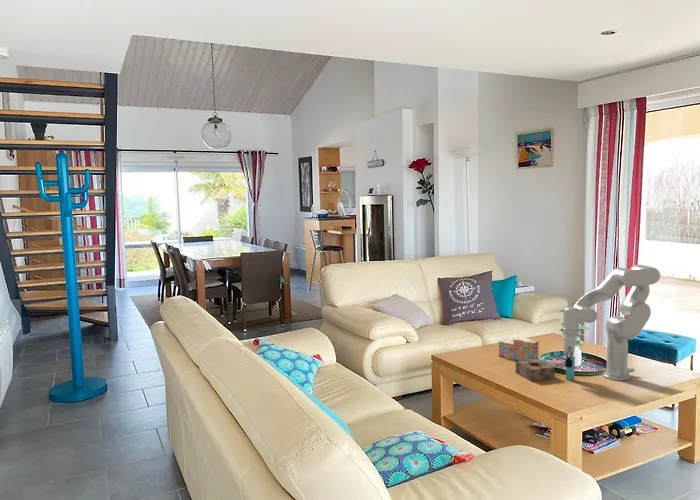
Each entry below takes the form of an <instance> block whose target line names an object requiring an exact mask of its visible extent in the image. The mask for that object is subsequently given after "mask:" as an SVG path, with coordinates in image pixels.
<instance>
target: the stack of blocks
mask: <svg viewBox="0 0 700 500" xmlns="http://www.w3.org/2000/svg"><path fill="white" fill-rule="evenodd" d="M498 357H501V358H503V359H504V358H505V359H509V360H514V361H517V362H518V361H527V360H535V359H539V340H536V339H533V338H525V337H522V336H521V337H520V336H516V338H513V340H509V339H502V340H499V341H498Z"/></svg>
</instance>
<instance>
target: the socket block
mask: <svg viewBox="0 0 700 500" xmlns="http://www.w3.org/2000/svg"><path fill="white" fill-rule="evenodd" d="M515 374H517V375H519V376H521V377H522V378H524V379H526V380H528V381H530V382H537V381H545V380H553V379H556V366H554V365H551V364H550V363H547V362H546V361H543V360H541V359H539V358H538V359H535V360H527V361H518V360H517V361H515Z"/></svg>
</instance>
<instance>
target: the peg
mask: <svg viewBox="0 0 700 500" xmlns="http://www.w3.org/2000/svg"><path fill="white" fill-rule="evenodd" d="M575 359H576V358H575V356H574V355H573V356H572V368H570V367H565V380H566V381H568V382H574V381H575V369H576V366H575V365H576V364H575V363H576V362H575Z"/></svg>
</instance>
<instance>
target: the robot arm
mask: <svg viewBox="0 0 700 500" xmlns="http://www.w3.org/2000/svg"><path fill="white" fill-rule="evenodd" d="M660 279H661V273H660V270H658V269H657V268H656V267H653V266H648V265H643V264H634V265H632V266H631V267H630V268H625V267H616V268H614V269H612V271H611V272H610V273H609V274H608V275H607V276H606V277H605V278H604V279H603V280H602V282H601V283H600V284H599V285H598V286H597V287H596V288H594V289H593V290H590V291H589V292H588V293H586V294H583V296H582V297H580V298H579V299H578V301H577V302H576V303H575V304H574V305H573V306H566V307H564V308H563V315H562V317H563V320H562V321H563V322H562V335H564V337H563V352H562V353H563V355H566V356H565V359H564V360H565V362H564V364H565V365H564V367H565V368H566V367H570V368H572V356H574V355H575V350H576V342H577V341H576V340H577V339H576V338H577V336H579V335H580V334H579V333H580V323H585V324H591V323H594V322H595V321H597V319H598V312H597V311H596V310H595V309H593V308H592V307H593V306H594V305H595V304H598V303H600V302H605V301H610V300H612V299H613V298H614V297H615V296H616V295H617V293H618V292H619V291H620V290H621V289H622V288H623V287H629V288H630V289H629V291H628V293H627V295H626V296H625V298H623V301H622V303H620V306H619V312H620V314H621V315H623V317H622V316H619V315H613V316H610V317H609V318H608V319H607V320H606V322H605V330H606V331H605V332H606V336H607V341H606V344H607V345H606V369H605V371H603V372H602V376H603V377H604V378H606V379H609V380H613V381H629V380H630V379H631V374H630V373H635V371H636V370H635V368H634V367H632V368H629V367H628V359H629V358H628V351H629V341H628V340H633V339H635V338H637V336H639V335H640V333H641V332H642V330H643V328H644V327H645V326H646V325H647V322H648V321H649V319H650V317H651V315H652V309H651V307H650V305H649V304H648V303H646V302H647V301H646V300H647V299H648V298H649V295H650V286H652V285H655V284H656V283H658V282H659V281H660ZM624 316H625V317H624ZM626 317H627V318H626Z"/></svg>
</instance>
